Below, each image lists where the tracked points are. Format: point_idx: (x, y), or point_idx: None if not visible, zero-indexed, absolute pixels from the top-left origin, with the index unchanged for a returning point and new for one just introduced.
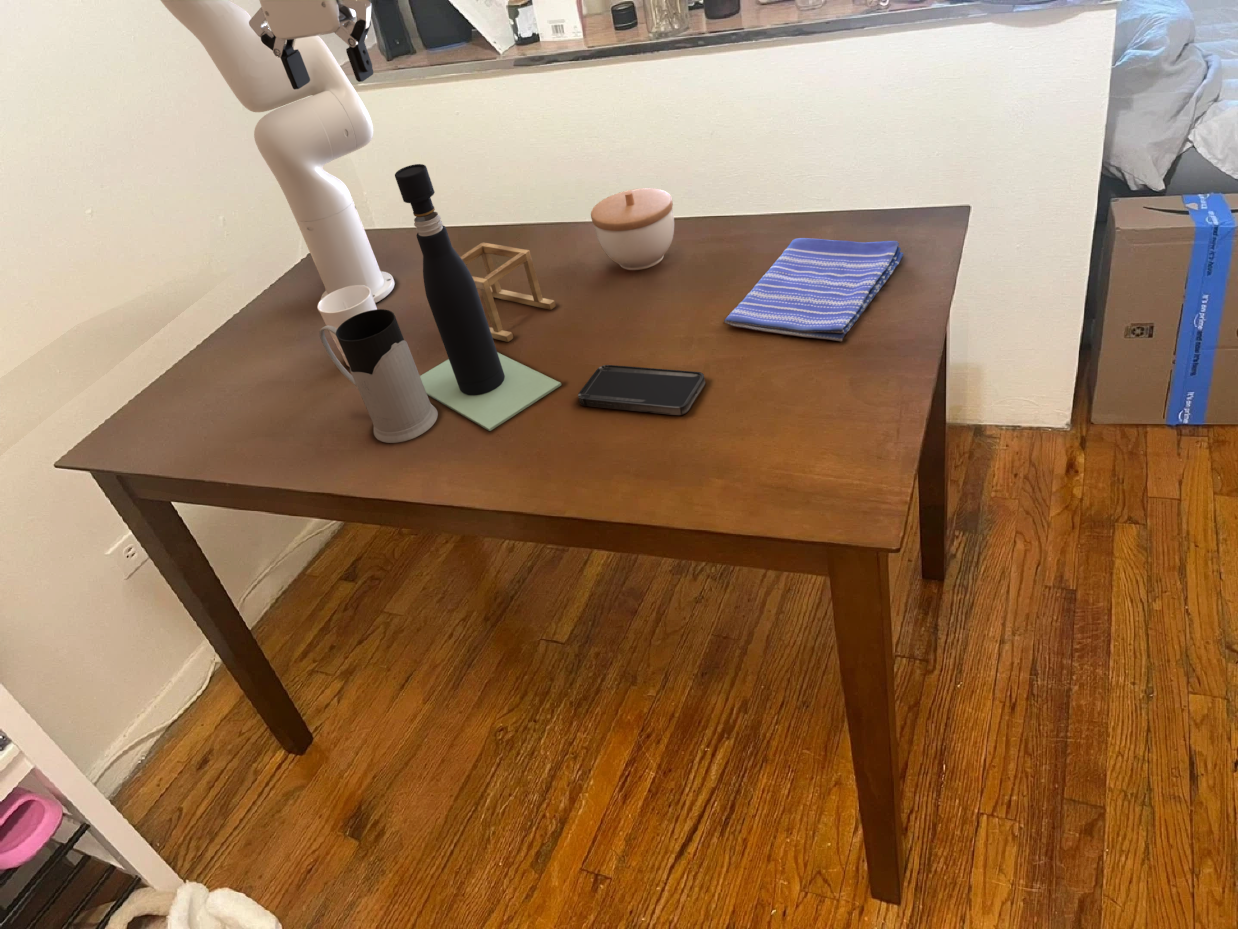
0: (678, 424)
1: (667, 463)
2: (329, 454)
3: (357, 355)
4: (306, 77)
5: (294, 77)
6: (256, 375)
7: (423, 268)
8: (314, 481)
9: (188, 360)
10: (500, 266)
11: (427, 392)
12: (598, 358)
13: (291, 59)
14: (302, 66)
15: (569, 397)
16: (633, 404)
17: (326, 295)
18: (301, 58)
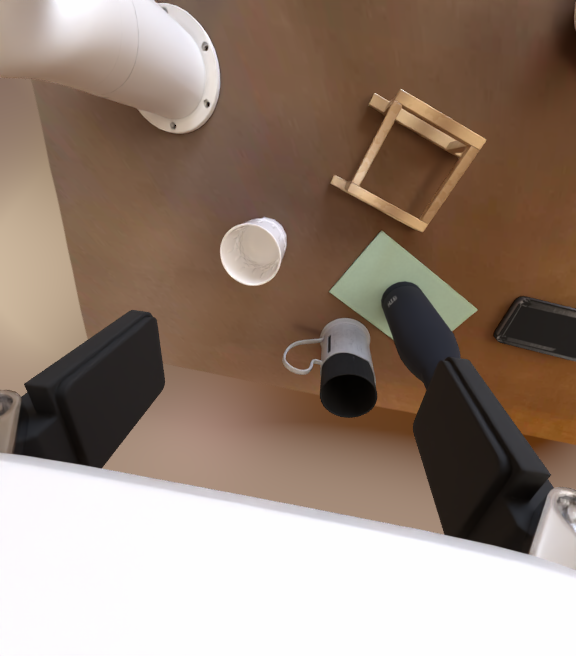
0: (572, 366)
1: (553, 400)
2: (297, 366)
3: (343, 406)
4: (149, 340)
5: (145, 409)
6: (162, 257)
7: (414, 373)
8: (299, 388)
9: (63, 221)
10: (443, 189)
11: (352, 308)
12: (515, 271)
13: (100, 443)
14: (120, 361)
15: (483, 325)
16: (544, 353)
17: (221, 244)
18: (96, 370)
